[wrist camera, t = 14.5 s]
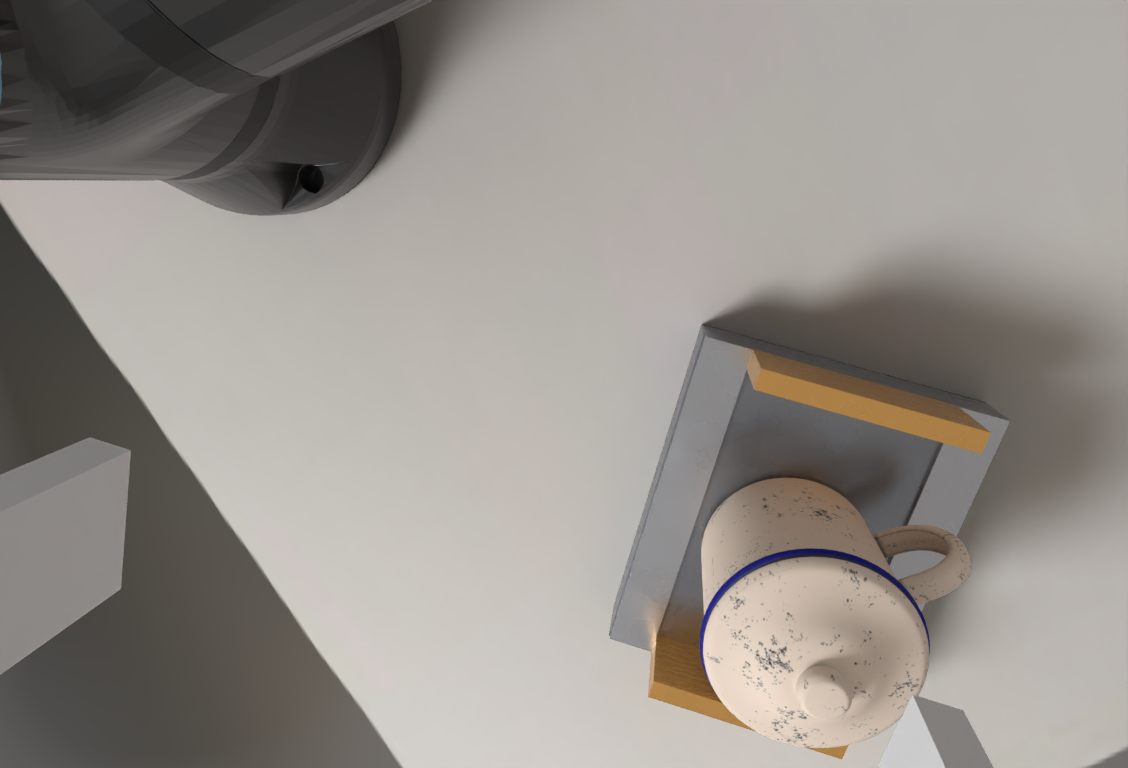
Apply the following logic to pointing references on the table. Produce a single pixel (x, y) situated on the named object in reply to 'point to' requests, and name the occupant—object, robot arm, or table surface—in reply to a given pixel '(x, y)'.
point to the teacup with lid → (816, 613)
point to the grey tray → (787, 450)
